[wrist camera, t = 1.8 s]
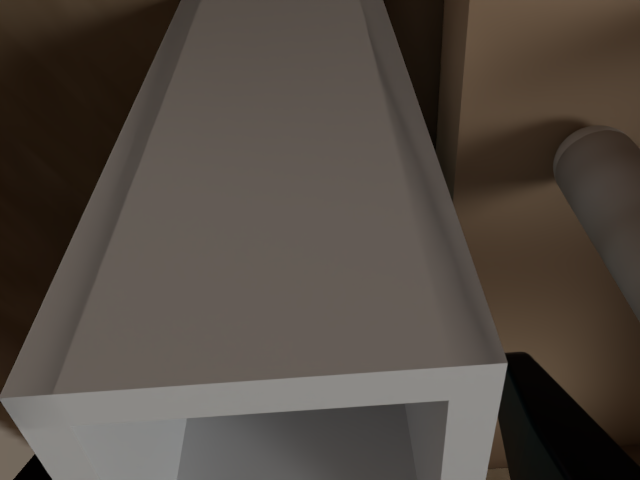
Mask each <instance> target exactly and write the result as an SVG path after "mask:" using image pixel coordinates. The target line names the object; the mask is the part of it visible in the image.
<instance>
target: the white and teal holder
mask: <svg viewBox="0 0 640 480" xmlns="http://www.w3.org/2000/svg"><path fill="white" fill-rule="evenodd" d="M507 365H508V362H507V359H506V356H505V353H504V350H503V347H502V345H501V342H500V339H499V336H498V333H497V330H496V327H495V324H494V321H493V318H492V316H491V313H490V310H489V307H488V304H487V301H486V298H485V295H484V292H483V289H482V286H481V284H480V281H479V278H478V275H477V272H476V269H475V266H474V263H473V260H472V257H471V254H470V252H469V249H468V246H467V243H466V240H465V237H464V234H463V231H462V228H461V225H460V222H459V220H458V217H457V214H456V211H455V208H454V205H453V202H452V199H451V196H450V193H449V190H448V188H447V185H446V182H445V179H444V176H443V173H442V170H441V167H440V164H439V161H438V158H437V156H436V153H435V150H434V147H433V144H432V141H431V138H430V135H429V132H428V129H427V126H426V124H425V121H424V118H423V115H422V112H421V109H420V106H419V103H418V100H417V97H416V94H415V92H414V89H413V86H412V83H411V80H410V77H409V74H408V71H407V68H406V65H405V62H404V60H403V57H402V54H401V51H400V48H399V45H398V42H397V39H396V36H395V33H394V30H393V28H392V25H391V22H390V19H389V16H388V13H387V10H386V7H385V4H384V1H383V0H181V1H180V3H179V5H178V8H177V10H176V12H175V14H174V16H173V19H172V21H171V23H170V25H169V27H168V29H167V32H166V34H165V36H164V38H163V40H162V43H161V45H160V47H159V49H158V51H157V53H156V56H155V58H154V60H153V62H152V64H151V67H150V69H149V71H148V73H147V75H146V77H145V80H144V82H143V84H142V86H141V88H140V91H139V93H138V95H137V97H136V99H135V102H134V104H133V106H132V108H131V110H130V112H129V115H128V117H127V119H126V121H125V123H124V126H123V128H122V130H121V132H120V134H119V136H118V139H117V141H116V143H115V145H114V147H113V150H112V152H111V154H110V156H109V158H108V161H107V163H106V165H105V167H104V169H103V171H102V174H101V176H100V178H99V180H98V182H97V185H96V187H95V189H94V191H93V193H92V195H91V198H90V200H89V202H88V204H87V206H86V209H85V211H84V213H83V215H82V217H81V219H80V222H79V224H78V226H77V228H76V230H75V233H74V235H73V237H72V239H71V241H70V244H69V246H68V248H67V250H66V252H65V254H64V257H63V259H62V261H61V263H60V265H59V268H58V270H57V272H56V274H55V276H54V278H53V281H52V283H51V285H50V287H49V289H48V292H47V294H46V296H45V298H44V300H43V303H42V305H41V307H40V309H39V311H38V313H37V316H36V318H35V320H34V322H33V324H32V327H31V329H30V331H29V333H28V335H27V337H26V340H25V342H24V344H23V346H22V348H21V351H20V353H19V355H18V357H17V359H16V361H15V364H14V366H13V368H12V370H11V372H10V375H9V377H8V379H7V381H6V383H5V386H4V388H3V390H2V392H1V394H0V401H1V403H2V404H3V406H4V407H5V409H6V410H7V412H8V413H9V415H10V416H11V418H12V419H13V421H14V422H15V424H16V425H17V427H18V428H19V430H20V431H21V433H22V434H23V436H24V438H25V439H26V441H27V442H28V444H29V445H30V447H31V448H32V450H33V451H34V453H35V454H36V456H37V457H38V459H39V460H40V462H41V463H42V465H43V466H44V468H45V469H46V471H47V472H48V474H49V475H50V477H51V478H52V480H486V474H487V469H488V464H489V459H490V454H491V448H492V443H493V438H494V433H495V427H496V422H497V417H498V412H499V407H500V401H501V396H502V391H503V386H504V380H505V375H506V370H507Z"/></svg>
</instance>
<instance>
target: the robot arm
mask: <svg viewBox="0 0 640 480" xmlns="http://www.w3.org/2000/svg"><path fill="white" fill-rule="evenodd" d="M505 356H506V359H507V362H508V365H507V370H506V375H505V380H504V386H503V391H502V396H501V401H500V407H499V412H498V421H499V426H500V430H501V435H502V440H503V445H504V450H505V455H506V460H507V465H508V470H509V475H510V479H511V480H640V466H639V465H638V464H637V463H636V462H635V461H634V460H633V459H632V458H631V457H630V456H629V455H628V454H627V453H626V452H625V451H624V450H623V449H622V448H621V447H620V446H619V445H618V444H617V443H616V442H615V441H614V440H613V439H612V438H611V437H610V436H609V435H608V434H607V433H606V432H605V431H604V430H603V429H602V428H601V427H600V426H599V425H598V424H597V422H596V421H595V420H594V419H593V418H592V417H591V416H590V415H589V414H588V413H587V412H586V411H585V410H584V409H583V408H582V407H581V406H580V405H579V404H578V403H577V402H576V401H575V400H574V399H573V398H572V397H571V396H570V395H569V394H568V393H567V392H566V391H565V390H564V389H563V388H562V387H561V386H560V385H559V384H558V383H557V382H556V381H555V380H554V379H553V378H552V377H551V376H550V375H549V374H548V373H547V372H546V371H545V370H544V369H543V368H542V367H541V366H540V365H539V364H538V363H537V362H536V361H535V359H534V358H533V357H532V356H530V355H529V354H528V353H526V352H507V353H505ZM13 480H52V478H51V477H50V475H49V474H48V472H47V471H46V469H45V468H44V466H43V465H42V463H41V462H40V460H39V459H38V457H37V456H36V454H34V456H33V457H32V458H31V459H30V461H29V462H28V463H27V464H26V465H25V467H23V469H22V470H21V471H20V472H19V473H18V475H17V476H16V477H15V478H14V479H13Z"/></svg>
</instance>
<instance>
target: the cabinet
mask: <svg viewBox="0 0 640 480" xmlns="http://www.w3.org/2000/svg"><path fill="white" fill-rule="evenodd" d="M436 156H437V158H438V161H439V164H440V167H441V170H442V173H443V176H444V179H445V182H446V185H447V188H448V190H449V193H450V196H451V199H452V202H453V205H454V208H455V211H456V214H457V217H458V220H459V222H460V225H461V228H462V231H463V234H464V237H465V240H466V243H467V246H468V249H469V252H470V254H471V257H472V260H473V263H474V266H475V269H476V272H477V275H478V278H479V281H480V284H481V286H482V289H483V292H484V295H485V298H486V301H487V304H488V307H489V310H490V313H491V316H492V318H493V321H494V324H495V327H496V330H497V333H498V336H499V339H500V342H501V345H502V347H503V350H504V353H507V352H526V353H528V354H529V355H530V356H532V357H533V358H534V359H535V361H536V362H537V363H538V364H539V365H540V366H541V367H542V368H543V369H544V370H545V371H546V372H547V373H548V374H549V375H550V376H551V377H552V378H553V379H554V380H555V381H556V382H557V383H558V384H559V385H560V386H561V387H562V388H563V389H564V390H565V391H566V392H567V393H568V394H569V395H570V396H571V397H572V398H573V399H574V400H575V401H576V402H577V403H578V404H579V405H580V406H581V407H582V408H583V409H584V410H585V411H586V412H587V413H588V414H589V415H590V416H591V417H592V418H593V419H594V420H595V421H596V422H597V424H598V425H599V426H600V427H601V428H602V429H603V430H604V431H605V432H606V433H607V434H608V435H609V436H610V437H611V438H612V439H613V440H614V441H615V442H616V443H617V444H618V445H619V446H620V447H621V448H622V449H623V450H624V451H625V452H626V453H627V454H628V455H629V456H630V457H631V458H632V459H633V460H634V461H635V462H636V463H637V464H638V465H639V466H640V0H444V16H443V33H442V51H441V68H440V86H439V104H438V121H437V139H436ZM495 468H508V465H507V460H506V455H505V450H504V445H503V440H502V435H501V430H500V426H499V421H498V417H497V422H496V427H495V433H494V438H493V443H492V448H491V454H490V459H489V464H488V469H495Z"/></svg>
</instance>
